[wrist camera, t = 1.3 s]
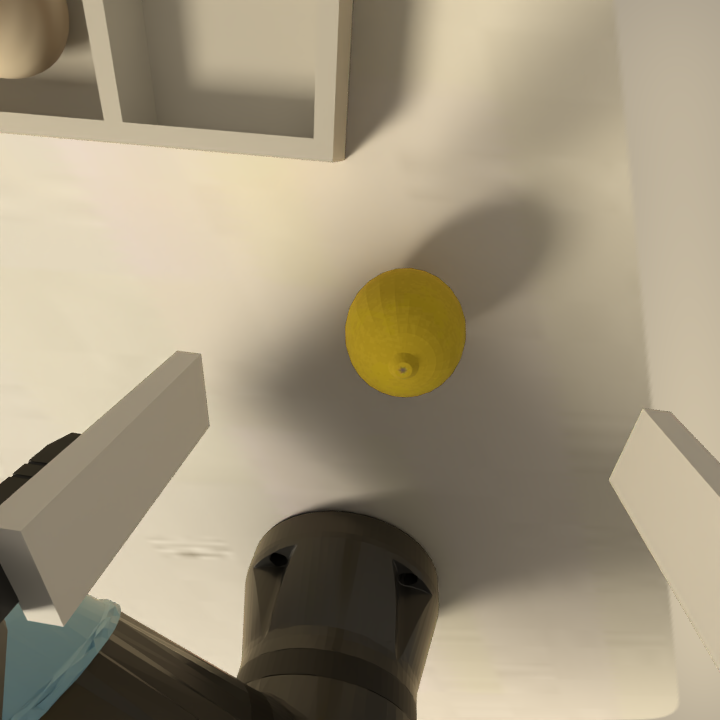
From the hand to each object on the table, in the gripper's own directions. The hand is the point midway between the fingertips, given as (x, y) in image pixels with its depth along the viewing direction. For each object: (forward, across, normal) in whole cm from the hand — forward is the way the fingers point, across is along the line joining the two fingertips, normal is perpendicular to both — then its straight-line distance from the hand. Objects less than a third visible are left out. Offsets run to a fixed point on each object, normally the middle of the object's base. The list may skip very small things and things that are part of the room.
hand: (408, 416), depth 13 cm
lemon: (+12, 0, 0) cm, 12 cm away
